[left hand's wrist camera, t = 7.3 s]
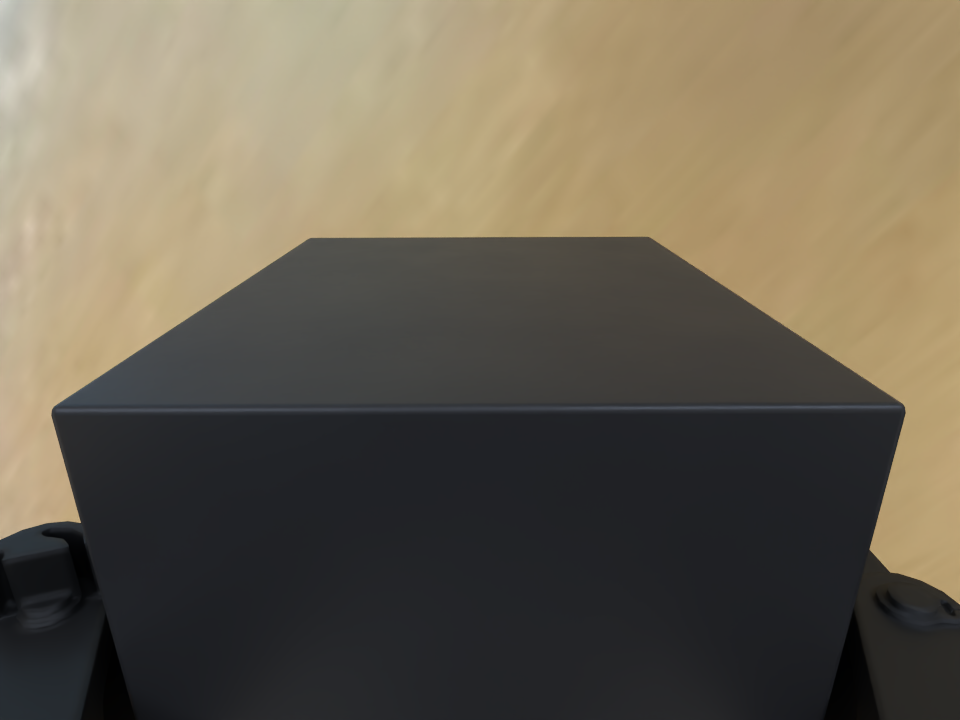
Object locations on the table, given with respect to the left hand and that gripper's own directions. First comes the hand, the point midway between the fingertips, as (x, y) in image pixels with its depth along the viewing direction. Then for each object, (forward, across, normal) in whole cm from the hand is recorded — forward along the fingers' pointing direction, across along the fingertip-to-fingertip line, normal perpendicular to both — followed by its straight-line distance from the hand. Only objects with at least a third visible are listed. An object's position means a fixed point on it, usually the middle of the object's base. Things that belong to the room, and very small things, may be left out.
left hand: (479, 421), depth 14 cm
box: (+1, 0, -8) cm, 8 cm away
